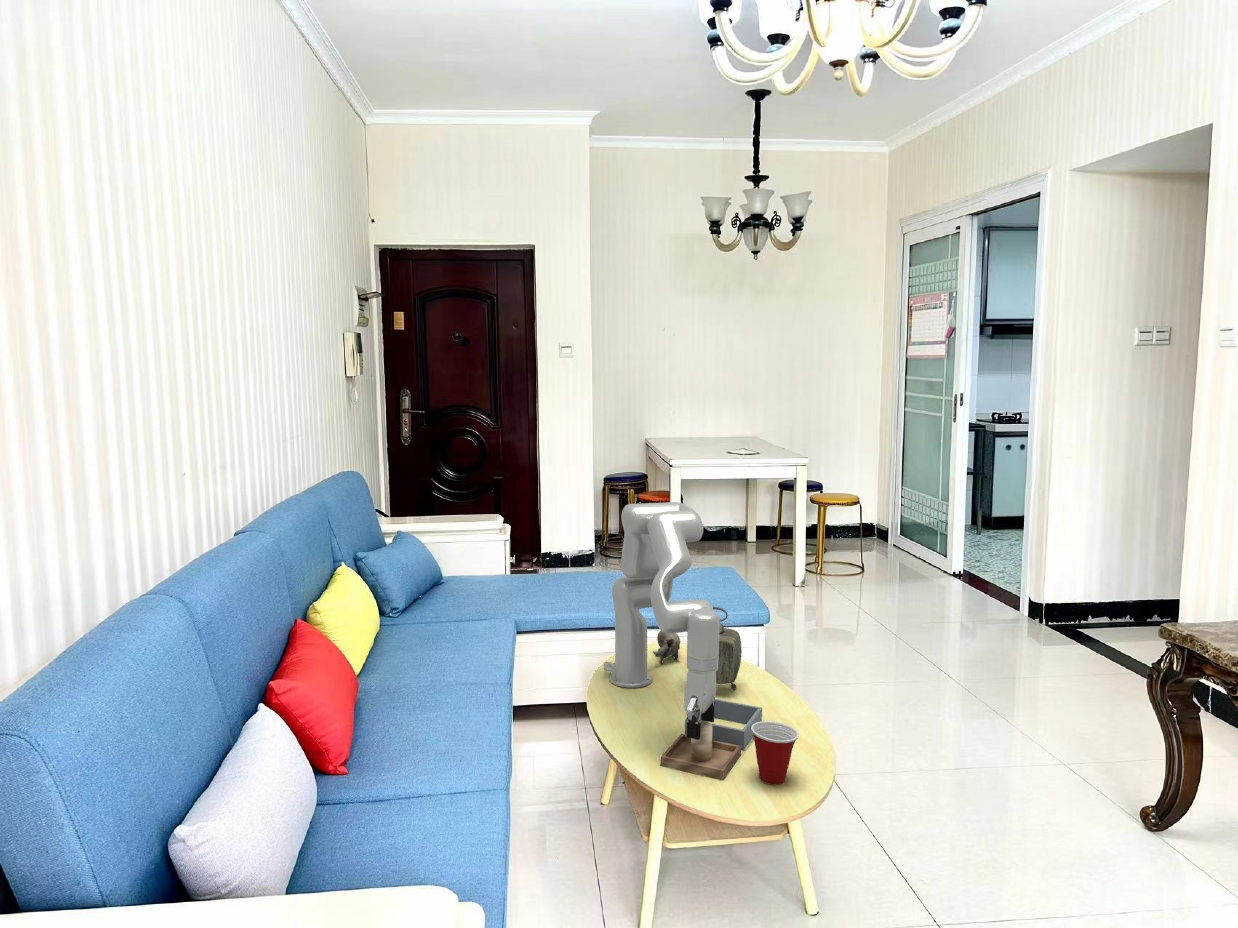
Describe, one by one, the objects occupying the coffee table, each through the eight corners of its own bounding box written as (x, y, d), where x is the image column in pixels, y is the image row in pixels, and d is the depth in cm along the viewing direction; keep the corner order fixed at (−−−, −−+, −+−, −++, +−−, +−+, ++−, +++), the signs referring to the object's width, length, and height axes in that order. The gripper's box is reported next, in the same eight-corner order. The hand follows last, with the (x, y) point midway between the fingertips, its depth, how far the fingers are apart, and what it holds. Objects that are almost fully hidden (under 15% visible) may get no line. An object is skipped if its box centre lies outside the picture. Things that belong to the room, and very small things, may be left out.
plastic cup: (806, 786, 193) (807, 736, 192) (762, 793, 190) (764, 742, 188) (783, 764, 203) (785, 716, 202) (742, 770, 200) (743, 722, 199)
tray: (660, 765, 203) (660, 756, 202) (681, 742, 215) (681, 733, 214) (723, 780, 196) (723, 770, 196) (741, 754, 208) (741, 746, 208)
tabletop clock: (740, 687, 249) (742, 604, 246) (737, 700, 241) (739, 614, 237) (691, 682, 253) (692, 601, 249) (686, 694, 244) (687, 610, 241)
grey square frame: (684, 738, 217) (684, 719, 216) (705, 714, 231) (705, 697, 230) (744, 750, 210) (744, 731, 210) (761, 725, 224) (762, 707, 224)
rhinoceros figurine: (684, 641, 281) (678, 614, 270) (683, 678, 271) (677, 650, 261) (660, 642, 282) (654, 615, 272) (658, 678, 272) (652, 651, 262)
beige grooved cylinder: (688, 759, 204) (688, 727, 203) (695, 750, 209) (695, 719, 208) (707, 763, 202) (708, 731, 201) (714, 754, 206) (715, 723, 205)
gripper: (700, 646, 211) (698, 711, 214) (674, 671, 196) (672, 741, 199) (729, 652, 208) (727, 718, 211) (705, 677, 193) (703, 748, 196)
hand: (700, 729), depth 205 cm, fingers open, 9 cm apart
